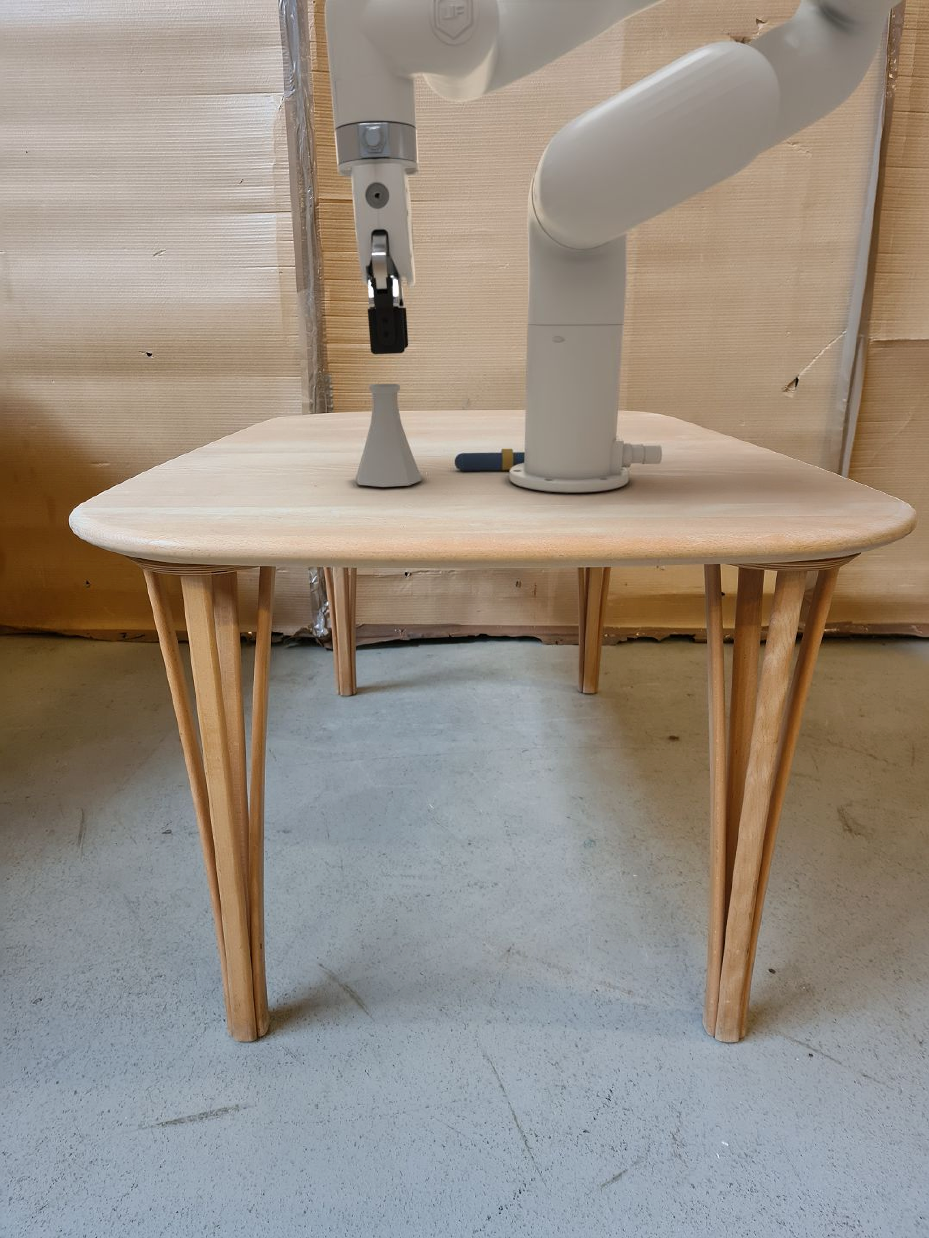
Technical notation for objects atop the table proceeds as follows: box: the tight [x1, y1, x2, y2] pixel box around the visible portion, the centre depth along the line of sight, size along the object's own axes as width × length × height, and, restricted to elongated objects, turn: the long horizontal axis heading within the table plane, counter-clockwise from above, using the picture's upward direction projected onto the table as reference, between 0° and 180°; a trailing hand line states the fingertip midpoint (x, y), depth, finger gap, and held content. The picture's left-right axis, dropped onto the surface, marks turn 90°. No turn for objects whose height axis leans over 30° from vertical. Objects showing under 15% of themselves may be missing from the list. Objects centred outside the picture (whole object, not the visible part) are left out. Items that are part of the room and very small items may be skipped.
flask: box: [355, 383, 423, 488], centre depth 80 cm, size 7×7×10 cm
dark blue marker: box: [454, 448, 525, 472], centre depth 87 cm, size 12×2×2 cm, turn 92°
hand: (390, 351), depth 77 cm, fingers open, 9 cm apart
